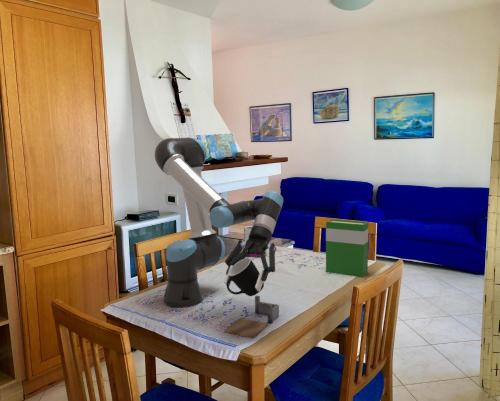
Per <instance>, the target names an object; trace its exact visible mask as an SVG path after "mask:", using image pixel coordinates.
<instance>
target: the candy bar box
mask: <svg viewBox="0 0 500 401" xmlns="http://www.w3.org/2000/svg"><path fill="white" fill-rule="evenodd" d="M252 227H253V225H245V226H244V227H243V228H244V229H243V230H244V232H243V233H244V242H246V241H247V240H248V239H249V234H250V231H251V229H252ZM245 247H246V246H244V248H245ZM247 252H248V250H247ZM264 253H265V257H267V250H265V251H264ZM246 258H261V257H260V255H256V254H254V255H252V254H250V255H249V256H247V257H246Z"/></svg>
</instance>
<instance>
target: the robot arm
mask: <svg viewBox="0 0 500 401" xmlns="http://www.w3.org/2000/svg"><path fill="white" fill-rule="evenodd" d="M207 153H208V152H207V148H206V145H205V144H204V143H203V142H202V141H201V140H200V139H198V138H195V137H175V138H174V137H170V138H169V137H168V138H164V139H162V140H161V141H160V142H158V144H157V145H156V147H155V149H154V160H155V162H156V165H157V166H158V168H159V169H160V170H161V172H163V173H164V174H165V175H166V176H171V177H172V179H174V180H175V181H176V182H177V183H178V184H179V185H180V186H181V187H182V190H183V196H184V201H185V206H186V210H187V216H188V223H189V228H190V230H191V231H190V232H191V233H190V235H189V236H188V239H185V238H184V239H181V240H176V241H173V242H171V243H170V244H168V246H167V247H166V252H165V253H166V254H165V259H166V261H165V262H166V272H167V273H166V275H167V283H166V286H165V287H166V288H165V290H164V295H163V302H164V305H167V306H168V307H171V308H188V307H192V306H196V305H199V304H200V303H201V302H202V301H203V298H204V297H203V291H202V290H201V287H200V284H199V282H198V271H200V270H203V269H206V268H209V267H212V266H215V265H217V264H219V263H220V262H221V261H222V260H223V258H224V257H225V253H226V245H225V242H224V240H223V239H222V238H221V237H220V236H218V234H217V231H216V230H214V229H213V228H212V226H213V227H215V228H216V229H224V228H228V227H230V226H231V227H232V226H234V225H238V224H243V223H248V222H250V221H253V224H252V226H253V227H252V229H251V231H250V234H249V239H248V240H247V241H246V242H245V240H244V241H243V240H242V239H239V240H238V241H237V244H236V245H235V248H233V250H231V252H230V253H229V255H228V256H227V257H226V259H225V261H224V263H225V264H226V266H227V269H226V272H225V275H226V277H225V280H224V282H223V283H224V284H225V286H227V281H228V280H229V278H230V277H229V275H228V272H229V270H230V269H231V268H232V267H233V266H234V265H235V264H236V263H237V262H239V261H240V260H242V259H245V258H248V257H247V256H249V255H250V254H252V255H254V254H256V255H260V257H259V258H260V261H261V263H262V267H263V269H262V268H261V269H260V271H259V273H260V274H259V277H258V280H257V283H256V286H255V288H256V289H257V291H260V290H261V287H262V284H263V282H266V281H267V278H268V275H269V274H270V273H275V272H276V250H277V246H276V245H275V243H274V242H272V243H270V242H271V239H272V236H273V233H274V231H275V228H276V226H277V225H276V224H277V221H278V218H279V216H280V213H281V211H282V209H283V208H282V207H283V203H284V197H283V196H282V194H280V193H278V192H277V191H274V190H273V191H272V190H269V191H266V192H265V193H264V195H263V196H262V198H257V199H253V200H252V199H251V200H240V201H238V202H237V201H236V203H235V202H233V203H230V202H228V201H227V199H225V198H224V197H223V196H222V195H221V194H220V193H219V192H218V191H217V190H216V189H214V187H213V186H212V185H210V184H209V183H208V182H207V181H206V180H205V179H204V178H203V176H202V171H203V169H204V168H205V167H204V163H205V162H206V158H207V157H208V154H207ZM245 246H246V247H245ZM247 250H248V252H247ZM265 250H266V251H267V250H268V258H269V259H268V261H269V264H268V261H267V258H266V257H267V256H266V257H265V253H264V251H265ZM231 283H232V281H230V283H229V287H230V286H231ZM261 291H262V290H261ZM261 291H260V292H261Z"/></svg>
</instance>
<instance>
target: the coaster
mask: <svg viewBox="0 0 500 401" xmlns="http://www.w3.org/2000/svg"><path fill="white" fill-rule="evenodd" d="M268 326H269V323H268V322H263V321H257V320H252V319H246V318H243V317H239V318H238V319H237V320H235V321H234V322H233V323H231V324H230V325H229V326H227V328H225V329H224V330H223V332H224V333H226V334H227V333H228V334H232V335H236V336H241V337H244V338H250V339H254V338H256V337H257V336H258V335H260V333H261V332H262V331H264V330H265V329H266V328H267V327H268Z"/></svg>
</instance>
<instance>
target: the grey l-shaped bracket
mask: <svg viewBox="0 0 500 401" xmlns="http://www.w3.org/2000/svg"><path fill="white" fill-rule="evenodd" d="M254 313H255V314H260V315H261V314H262V315H266V316H267V323H268V324H273V322H275V320H277V319H278V318H280V306H279V304H277V303H270V302H264V301H261V297H260V295H254Z"/></svg>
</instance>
